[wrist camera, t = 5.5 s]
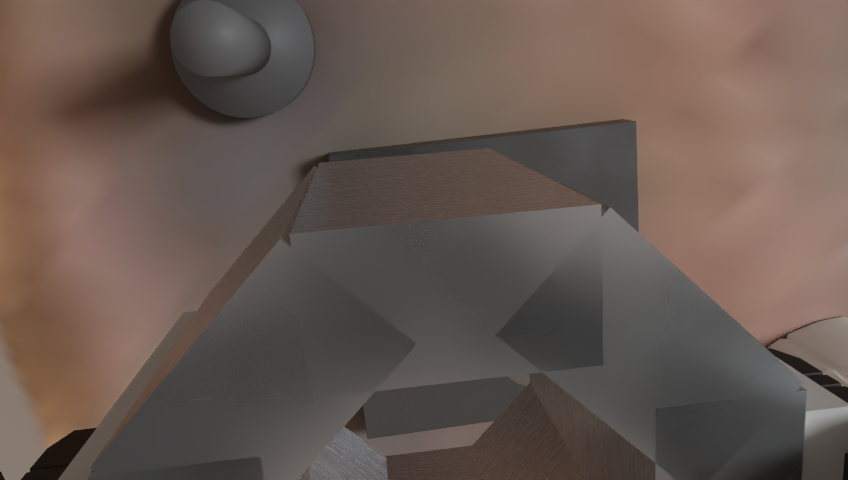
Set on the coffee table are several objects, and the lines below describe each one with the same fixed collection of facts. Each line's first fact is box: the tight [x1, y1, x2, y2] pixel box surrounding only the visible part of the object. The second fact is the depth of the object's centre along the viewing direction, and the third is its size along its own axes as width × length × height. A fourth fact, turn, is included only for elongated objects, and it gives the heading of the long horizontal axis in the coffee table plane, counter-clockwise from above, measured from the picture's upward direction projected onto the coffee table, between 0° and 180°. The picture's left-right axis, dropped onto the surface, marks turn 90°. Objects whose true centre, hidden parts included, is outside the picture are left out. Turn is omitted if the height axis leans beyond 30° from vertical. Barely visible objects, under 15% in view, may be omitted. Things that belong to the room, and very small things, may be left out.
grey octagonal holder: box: [87, 148, 807, 480], centre depth 11 cm, size 8×8×6 cm
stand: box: [170, 0, 315, 118], centre depth 26 cm, size 6×6×8 cm
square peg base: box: [329, 119, 639, 439], centre depth 29 cm, size 14×14×9 cm
